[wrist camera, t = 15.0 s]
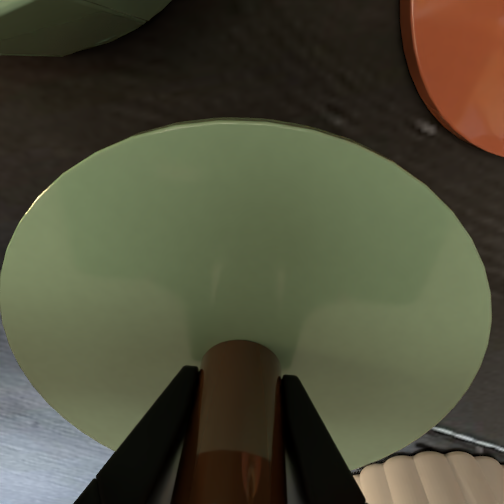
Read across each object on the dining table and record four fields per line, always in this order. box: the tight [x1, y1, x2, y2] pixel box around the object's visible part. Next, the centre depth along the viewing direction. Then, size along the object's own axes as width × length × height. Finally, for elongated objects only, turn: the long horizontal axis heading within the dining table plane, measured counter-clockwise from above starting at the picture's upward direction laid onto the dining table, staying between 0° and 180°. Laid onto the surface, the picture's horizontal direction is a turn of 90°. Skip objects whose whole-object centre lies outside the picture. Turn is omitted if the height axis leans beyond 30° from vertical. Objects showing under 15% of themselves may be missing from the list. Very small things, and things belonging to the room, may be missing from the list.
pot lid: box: [0, 117, 492, 504], centre depth 8 cm, size 14×14×6 cm
